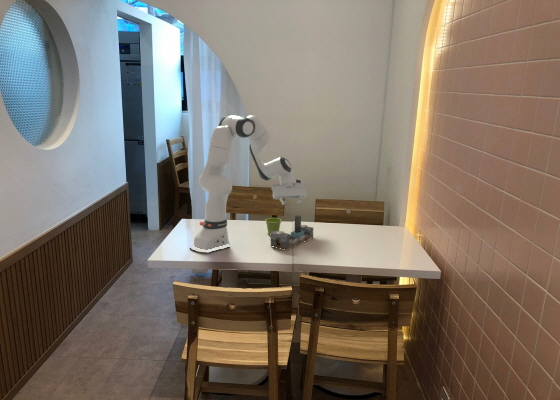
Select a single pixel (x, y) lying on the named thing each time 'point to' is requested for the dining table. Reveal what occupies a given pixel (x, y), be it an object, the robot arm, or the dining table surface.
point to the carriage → (297, 228)
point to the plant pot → (273, 224)
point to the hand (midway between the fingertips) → (291, 204)
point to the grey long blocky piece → (287, 240)
